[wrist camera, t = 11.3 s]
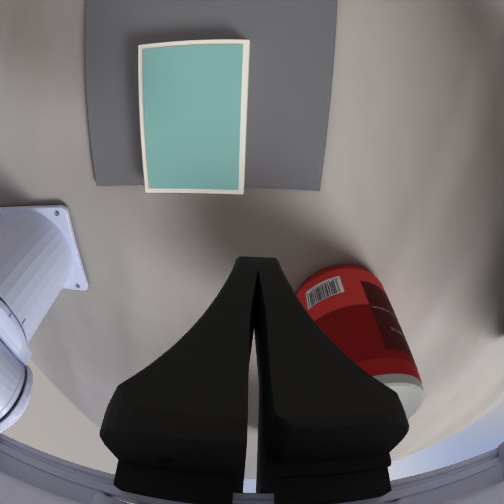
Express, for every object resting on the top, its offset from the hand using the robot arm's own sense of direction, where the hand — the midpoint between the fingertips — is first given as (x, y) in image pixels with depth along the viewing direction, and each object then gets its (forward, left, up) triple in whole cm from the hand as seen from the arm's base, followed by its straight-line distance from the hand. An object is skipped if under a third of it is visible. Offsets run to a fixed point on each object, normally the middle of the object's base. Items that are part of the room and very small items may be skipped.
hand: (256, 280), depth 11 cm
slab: (-1, +4, -9) cm, 10 cm away
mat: (-4, +6, -10) cm, 13 cm away
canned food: (+7, -10, -11) cm, 16 cm away
